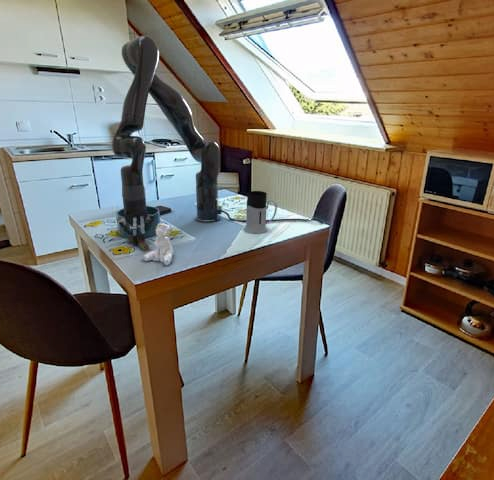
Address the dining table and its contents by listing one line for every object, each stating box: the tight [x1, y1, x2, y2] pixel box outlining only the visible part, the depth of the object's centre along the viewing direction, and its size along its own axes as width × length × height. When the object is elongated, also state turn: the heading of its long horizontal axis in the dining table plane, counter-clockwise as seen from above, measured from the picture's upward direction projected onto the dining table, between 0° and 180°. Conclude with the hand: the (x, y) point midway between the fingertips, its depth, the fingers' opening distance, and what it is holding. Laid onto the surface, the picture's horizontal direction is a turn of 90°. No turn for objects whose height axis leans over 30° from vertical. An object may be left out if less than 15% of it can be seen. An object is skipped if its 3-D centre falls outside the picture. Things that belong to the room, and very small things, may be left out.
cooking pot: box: [115, 205, 161, 239], centre depth 135 cm, size 16×16×8 cm
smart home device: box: [154, 205, 172, 216], centre depth 156 cm, size 8×2×20 cm
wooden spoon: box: [127, 236, 150, 252], centre depth 123 cm, size 13×4×2 cm, turn 36°
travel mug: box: [244, 190, 278, 234], centre depth 135 cm, size 9×14×15 cm, turn 44°
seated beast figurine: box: [143, 222, 174, 266], centre depth 111 cm, size 10×9×12 cm
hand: (138, 243), depth 124 cm, fingers closed on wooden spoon, 1 cm apart
